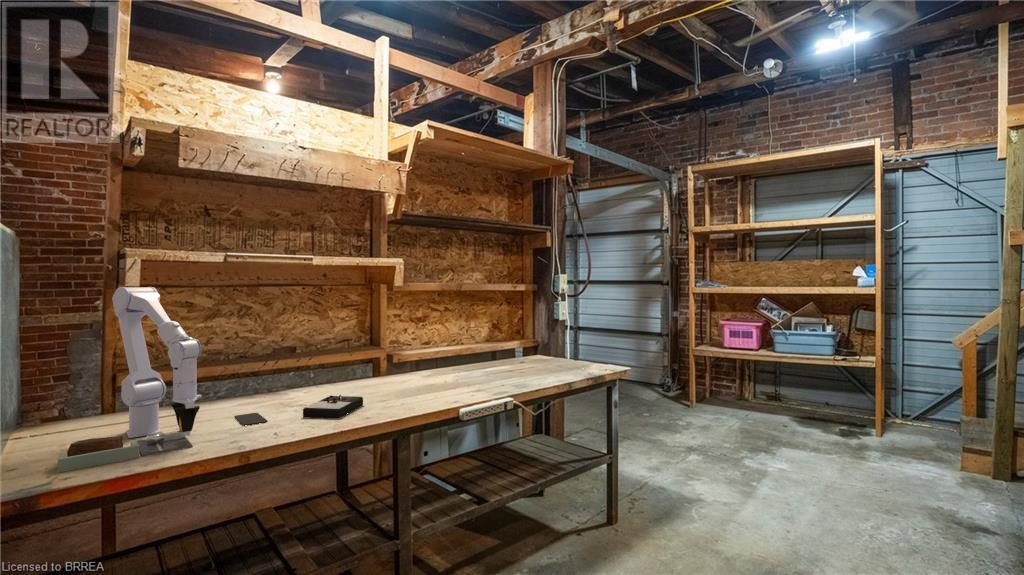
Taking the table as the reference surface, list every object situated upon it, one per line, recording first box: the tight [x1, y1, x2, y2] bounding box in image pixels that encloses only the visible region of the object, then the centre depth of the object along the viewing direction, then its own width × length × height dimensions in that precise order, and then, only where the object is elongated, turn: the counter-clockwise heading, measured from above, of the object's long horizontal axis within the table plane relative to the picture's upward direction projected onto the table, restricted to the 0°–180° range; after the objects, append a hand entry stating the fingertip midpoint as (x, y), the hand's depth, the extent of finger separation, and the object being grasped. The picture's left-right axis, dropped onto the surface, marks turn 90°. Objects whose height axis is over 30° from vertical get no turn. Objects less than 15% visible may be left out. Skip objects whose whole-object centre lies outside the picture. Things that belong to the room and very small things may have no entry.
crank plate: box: [136, 436, 193, 457], centre depth 139 cm, size 15×11×1 cm
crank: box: [146, 417, 191, 443], centre depth 142 cm, size 10×4×5 cm, turn 132°
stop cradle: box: [57, 440, 140, 473], centre depth 126 cm, size 6×16×3 cm, turn 133°
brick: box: [66, 435, 124, 457], centre depth 129 cm, size 11×4×5 cm, turn 111°
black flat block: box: [302, 394, 364, 419], centre depth 176 cm, size 13×19×5 cm
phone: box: [234, 412, 268, 427], centre depth 165 cm, size 7×1×15 cm
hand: (185, 428), depth 145 cm, fingers open, 6 cm apart
